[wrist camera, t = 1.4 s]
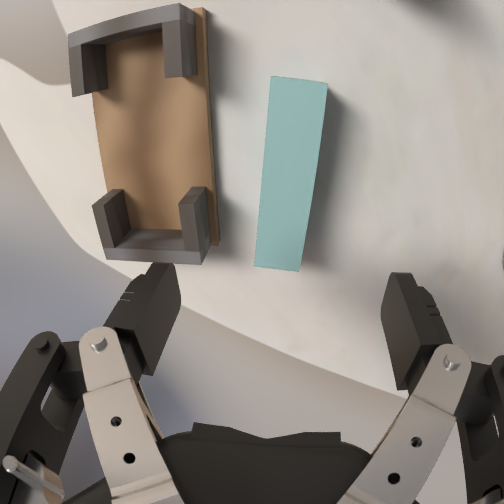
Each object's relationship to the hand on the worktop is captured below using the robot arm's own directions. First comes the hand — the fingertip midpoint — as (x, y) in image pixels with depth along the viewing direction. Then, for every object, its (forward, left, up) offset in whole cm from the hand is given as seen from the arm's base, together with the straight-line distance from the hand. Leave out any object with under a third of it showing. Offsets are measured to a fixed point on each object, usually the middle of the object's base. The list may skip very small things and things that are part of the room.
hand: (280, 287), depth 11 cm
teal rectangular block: (0, 0, -16) cm, 16 cm away
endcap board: (+11, -3, -15) cm, 19 cm away
